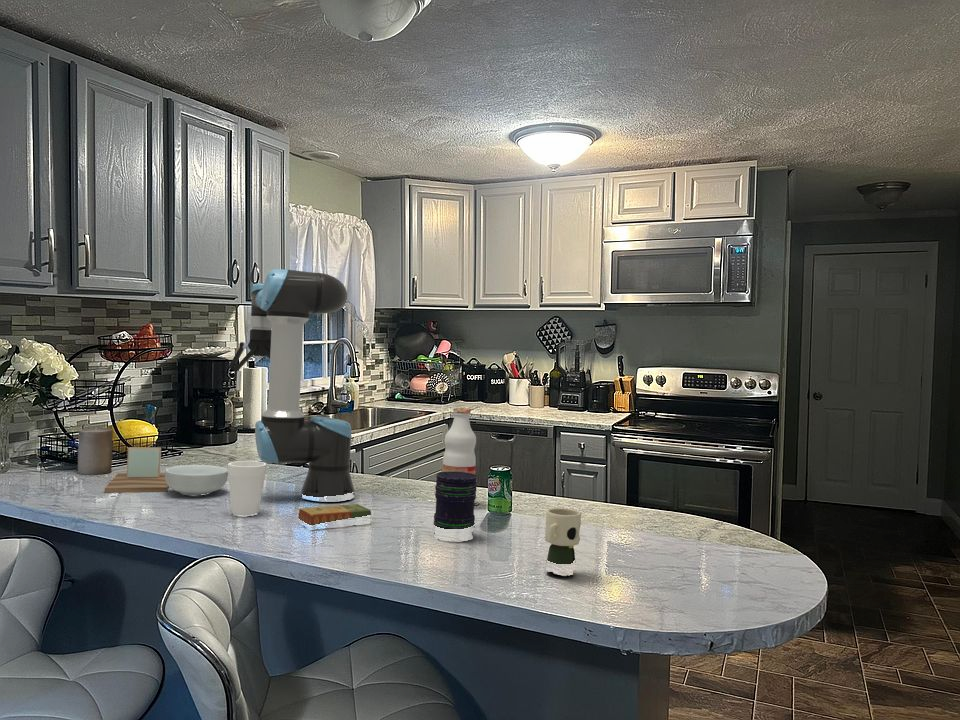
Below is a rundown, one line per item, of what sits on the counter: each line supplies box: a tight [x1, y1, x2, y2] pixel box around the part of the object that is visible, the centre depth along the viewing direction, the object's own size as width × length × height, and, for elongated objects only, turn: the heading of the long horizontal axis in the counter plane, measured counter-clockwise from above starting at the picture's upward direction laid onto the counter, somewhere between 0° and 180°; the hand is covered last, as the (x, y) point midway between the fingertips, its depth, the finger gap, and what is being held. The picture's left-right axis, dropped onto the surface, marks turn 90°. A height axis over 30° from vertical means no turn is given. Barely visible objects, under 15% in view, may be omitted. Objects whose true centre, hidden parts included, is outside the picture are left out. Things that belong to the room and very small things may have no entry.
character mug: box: [544, 507, 582, 564], centre depth 146 cm, size 11×7×13 cm, turn 148°
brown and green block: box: [297, 503, 372, 525], centre depth 178 cm, size 8×16×4 cm, turn 125°
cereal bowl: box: [164, 464, 229, 496], centre depth 204 cm, size 17×17×7 cm
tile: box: [126, 446, 162, 478], centre depth 217 cm, size 2×9×9 cm, turn 109°
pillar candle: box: [77, 425, 114, 476], centre depth 227 cm, size 10×10×15 cm
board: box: [104, 472, 170, 494], centre depth 213 cm, size 24×16×1 cm, turn 19°
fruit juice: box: [442, 407, 477, 475], centre depth 205 cm, size 9×9×28 cm
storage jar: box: [433, 471, 477, 529], centre depth 171 cm, size 10×10×15 cm
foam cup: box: [227, 460, 268, 515], centre depth 183 cm, size 10×9×13 cm
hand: (258, 391), depth 246 cm, fingers open, 13 cm apart
